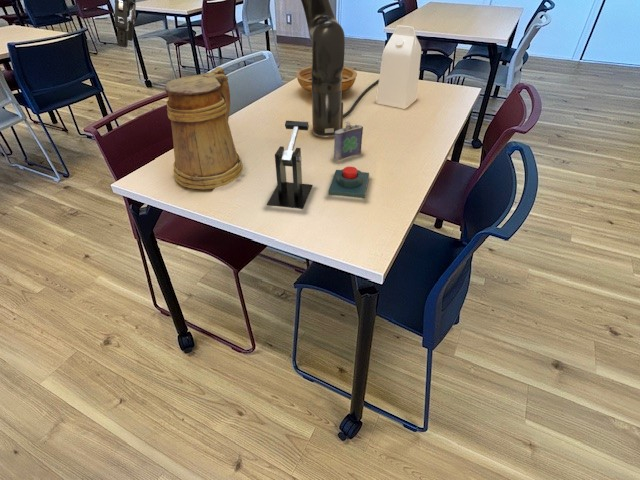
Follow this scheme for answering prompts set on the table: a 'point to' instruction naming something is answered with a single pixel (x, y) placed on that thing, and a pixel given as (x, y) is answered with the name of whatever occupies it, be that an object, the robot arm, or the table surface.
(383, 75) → the milk
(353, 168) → the button
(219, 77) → the tankard
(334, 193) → the button box
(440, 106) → the table surface
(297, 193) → the bracket
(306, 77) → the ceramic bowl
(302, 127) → the lever
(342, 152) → the flask
